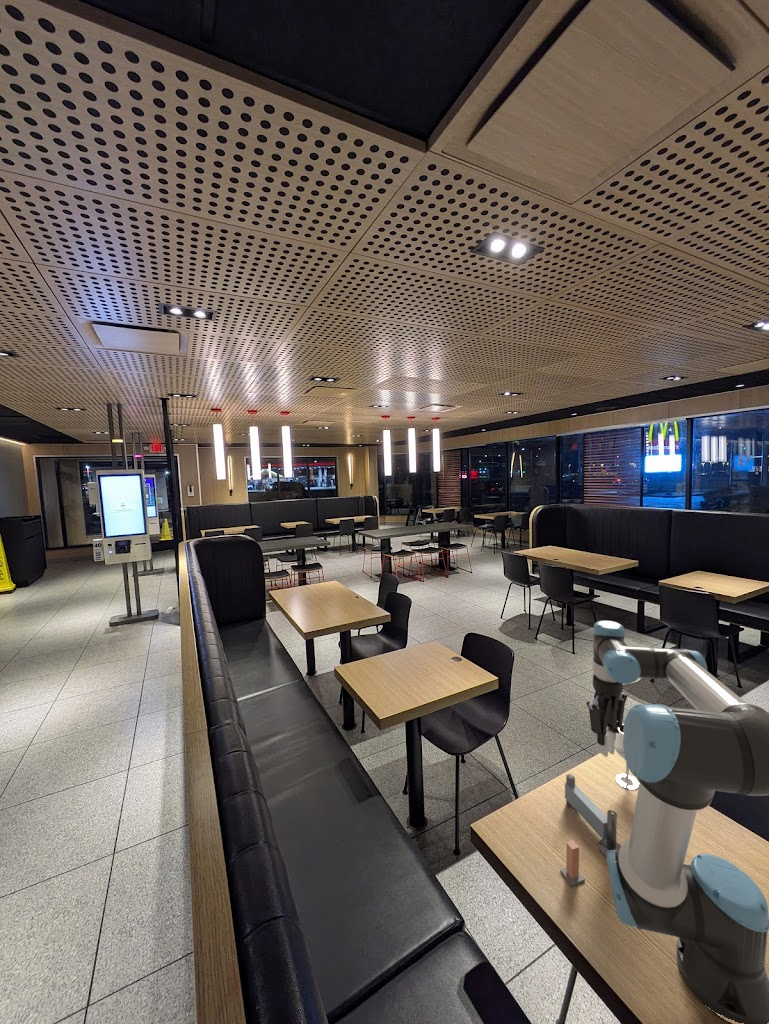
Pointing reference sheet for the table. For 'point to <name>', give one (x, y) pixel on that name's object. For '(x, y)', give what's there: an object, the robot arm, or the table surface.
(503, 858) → the table surface
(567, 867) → the post
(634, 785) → the wineglass
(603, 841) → the hinge post
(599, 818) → the gate
